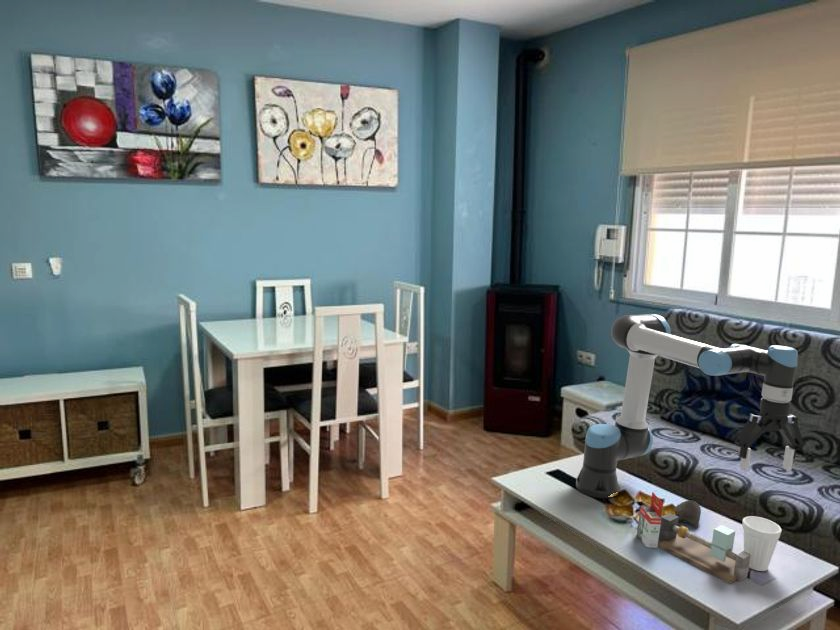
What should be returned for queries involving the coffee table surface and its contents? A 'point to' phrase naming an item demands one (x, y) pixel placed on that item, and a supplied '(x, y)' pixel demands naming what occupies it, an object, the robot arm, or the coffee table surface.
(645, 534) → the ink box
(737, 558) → the wooden slider rod stand
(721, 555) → the sleeve
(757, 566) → the cup
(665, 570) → the coffee table surface
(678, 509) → the stone
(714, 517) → the coffee table surface
